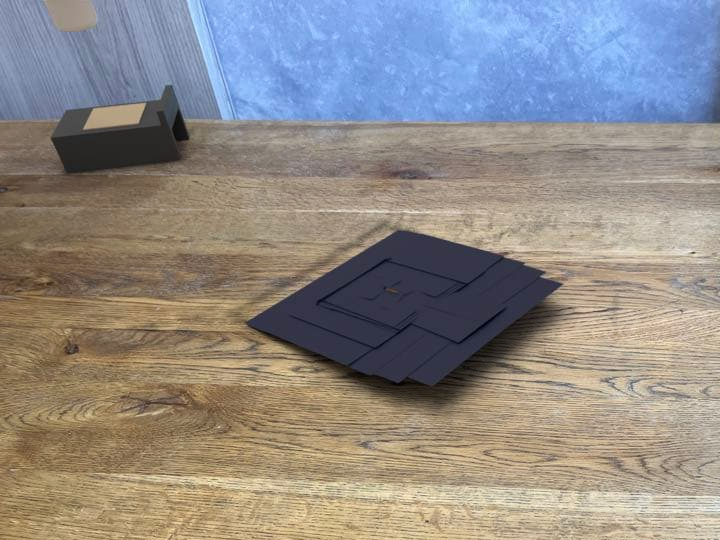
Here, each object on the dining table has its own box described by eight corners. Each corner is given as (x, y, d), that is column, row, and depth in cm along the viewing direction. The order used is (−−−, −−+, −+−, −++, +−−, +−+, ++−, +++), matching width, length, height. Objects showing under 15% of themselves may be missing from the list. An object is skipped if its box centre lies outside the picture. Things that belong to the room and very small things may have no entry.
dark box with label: (68, 178, 119) (43, 123, 113) (83, 149, 126) (60, 96, 121) (182, 164, 121) (163, 110, 115) (189, 136, 128) (172, 84, 123)
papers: (424, 420, 76) (415, 389, 74) (238, 338, 93) (227, 311, 90) (577, 297, 90) (573, 268, 88) (392, 244, 106) (385, 219, 104)
